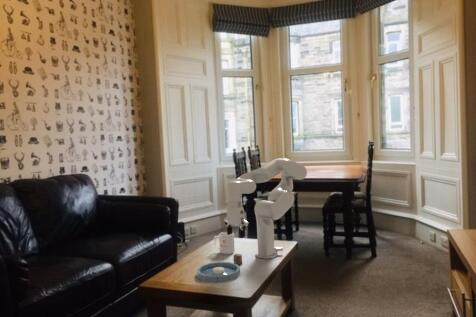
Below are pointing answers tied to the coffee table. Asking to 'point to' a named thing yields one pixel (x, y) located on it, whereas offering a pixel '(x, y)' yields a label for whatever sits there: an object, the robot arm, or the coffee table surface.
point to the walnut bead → (237, 259)
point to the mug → (225, 243)
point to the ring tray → (218, 272)
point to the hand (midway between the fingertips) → (236, 235)
